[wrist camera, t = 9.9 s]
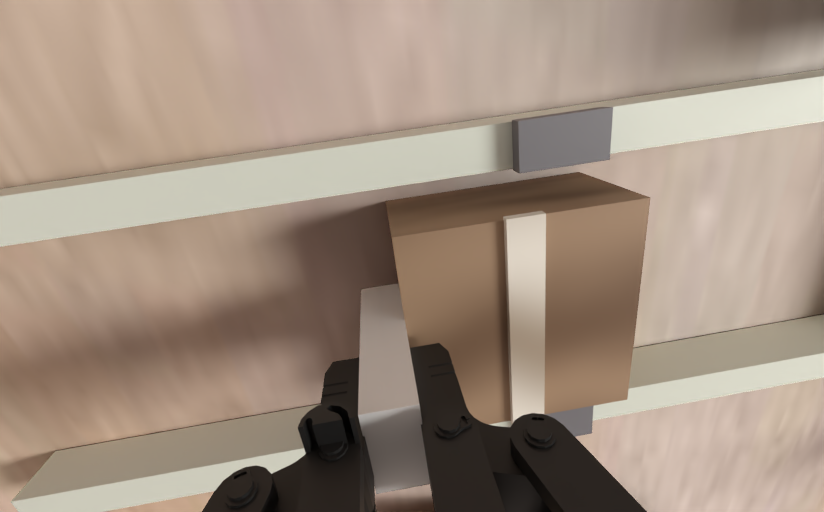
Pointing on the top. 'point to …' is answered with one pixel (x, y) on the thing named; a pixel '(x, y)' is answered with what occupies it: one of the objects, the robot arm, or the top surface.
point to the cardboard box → (525, 289)
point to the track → (389, 167)
